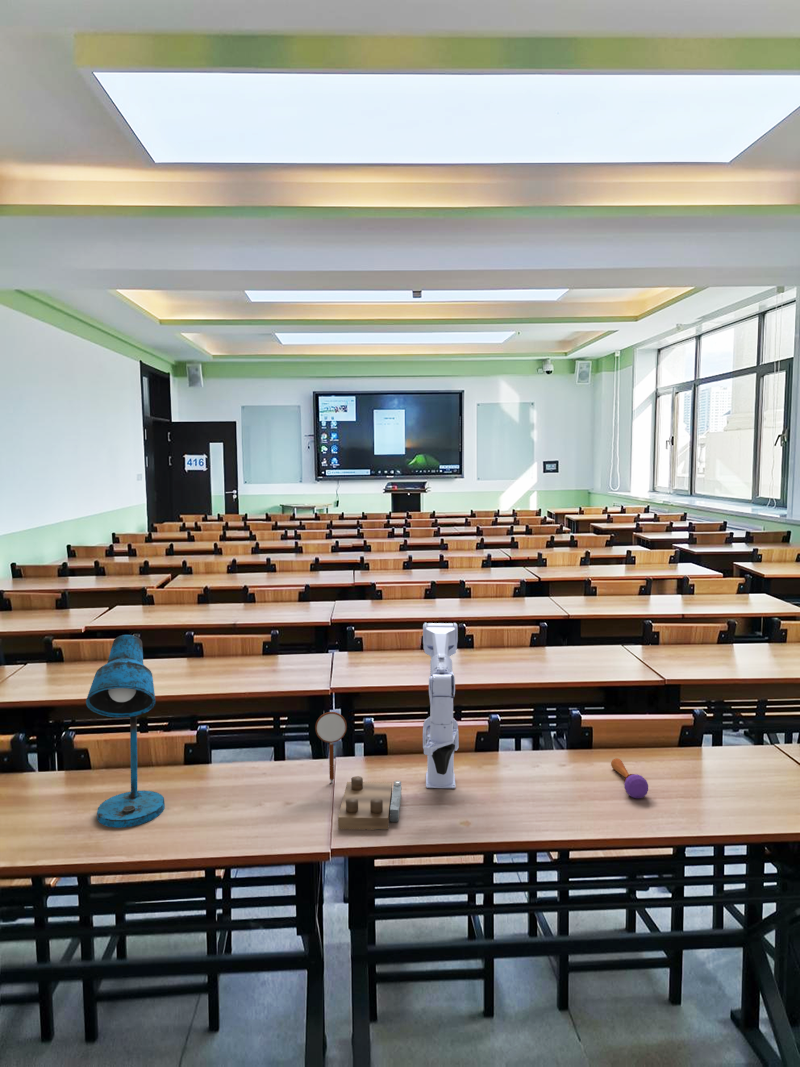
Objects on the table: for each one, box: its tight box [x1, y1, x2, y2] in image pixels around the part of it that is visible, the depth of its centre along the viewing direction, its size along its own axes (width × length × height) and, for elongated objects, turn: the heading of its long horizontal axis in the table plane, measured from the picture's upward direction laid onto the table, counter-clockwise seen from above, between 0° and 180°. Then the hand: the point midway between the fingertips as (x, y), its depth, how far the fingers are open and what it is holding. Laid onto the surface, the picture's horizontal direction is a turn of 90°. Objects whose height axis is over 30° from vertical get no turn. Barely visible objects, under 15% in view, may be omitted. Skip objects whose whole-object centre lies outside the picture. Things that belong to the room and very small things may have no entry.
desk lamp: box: [85, 634, 166, 829], centre depth 172 cm, size 16×22×45 cm
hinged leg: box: [389, 780, 402, 823], centre depth 177 cm, size 15×2×4 cm, turn 177°
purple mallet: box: [610, 757, 649, 799], centre depth 190 cm, size 6×6×20 cm
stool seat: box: [337, 776, 393, 831], centre depth 176 cm, size 19×12×6 cm, turn 178°
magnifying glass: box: [314, 711, 348, 783], centre depth 191 cm, size 9×2×20 cm, turn 96°
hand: (441, 773), depth 176 cm, fingers closed
